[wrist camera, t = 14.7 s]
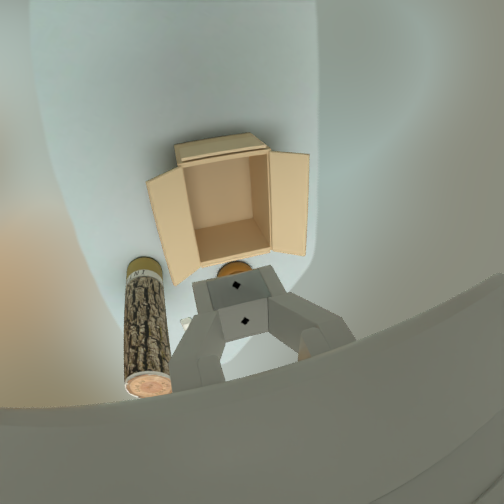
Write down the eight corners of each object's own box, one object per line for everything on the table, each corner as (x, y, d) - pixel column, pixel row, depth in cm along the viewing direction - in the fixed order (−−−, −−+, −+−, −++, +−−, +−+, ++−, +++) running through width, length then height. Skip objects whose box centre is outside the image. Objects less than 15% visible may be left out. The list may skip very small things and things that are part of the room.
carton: (173, 141, 42) (176, 159, 34) (250, 128, 44) (271, 144, 36) (190, 234, 52) (198, 269, 44) (256, 221, 54) (274, 252, 47)
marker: (201, 353, 74) (183, 315, 64) (208, 355, 74) (191, 316, 64) (198, 361, 72) (179, 324, 62) (205, 363, 72) (187, 326, 62)
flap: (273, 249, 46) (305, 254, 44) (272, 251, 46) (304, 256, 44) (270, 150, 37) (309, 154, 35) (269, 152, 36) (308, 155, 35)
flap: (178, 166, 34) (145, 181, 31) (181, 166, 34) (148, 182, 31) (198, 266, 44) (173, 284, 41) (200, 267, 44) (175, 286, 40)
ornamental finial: (254, 282, 63) (220, 293, 62) (248, 255, 59) (211, 266, 58) (266, 308, 57) (229, 320, 56) (261, 281, 52) (220, 294, 51)
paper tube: (168, 265, 55) (185, 381, 35) (150, 289, 56) (160, 403, 37) (138, 249, 51) (138, 368, 31) (120, 274, 53) (116, 392, 33)
